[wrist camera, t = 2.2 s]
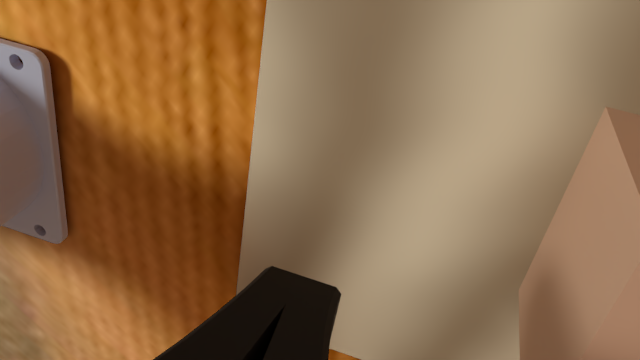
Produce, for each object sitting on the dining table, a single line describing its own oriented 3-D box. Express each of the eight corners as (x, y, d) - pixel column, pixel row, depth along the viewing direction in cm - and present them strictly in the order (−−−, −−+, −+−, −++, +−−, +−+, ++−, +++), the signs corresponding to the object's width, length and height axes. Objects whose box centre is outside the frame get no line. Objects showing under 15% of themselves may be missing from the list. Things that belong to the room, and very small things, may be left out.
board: (244, 297, 21) (233, 315, 21) (303, -204, 13) (288, -208, 12) (716, 458, 19) (726, 486, 18) (1189, -45, 10) (1249, -36, 9)
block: (518, 290, 16) (521, 456, 12) (605, 106, 13) (655, 236, 9) (579, 309, 16) (605, 486, 12) (683, 126, 13) (776, 271, 8)
